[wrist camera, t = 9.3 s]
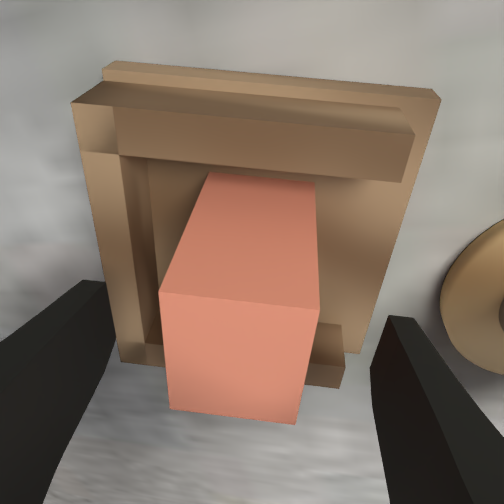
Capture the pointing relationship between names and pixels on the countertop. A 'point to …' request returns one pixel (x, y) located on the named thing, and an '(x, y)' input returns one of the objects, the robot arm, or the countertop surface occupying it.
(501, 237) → the bobbin
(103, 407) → the countertop surface
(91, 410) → the countertop surface
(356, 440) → the countertop surface
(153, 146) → the notch board
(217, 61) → the countertop surface
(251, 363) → the pink rectangular block
